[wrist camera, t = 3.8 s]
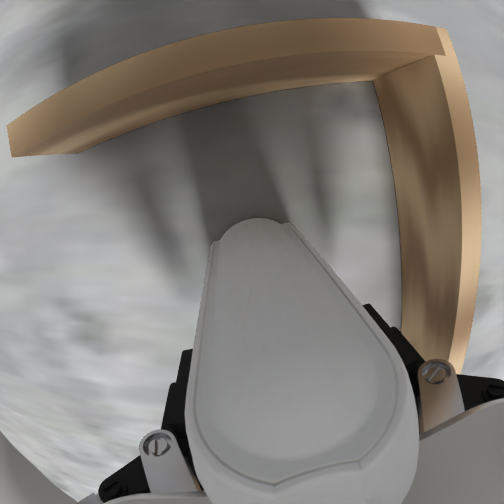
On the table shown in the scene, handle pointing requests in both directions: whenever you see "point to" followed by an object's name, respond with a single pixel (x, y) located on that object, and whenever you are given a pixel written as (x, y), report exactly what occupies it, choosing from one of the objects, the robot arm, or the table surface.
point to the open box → (309, 74)
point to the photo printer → (294, 381)
